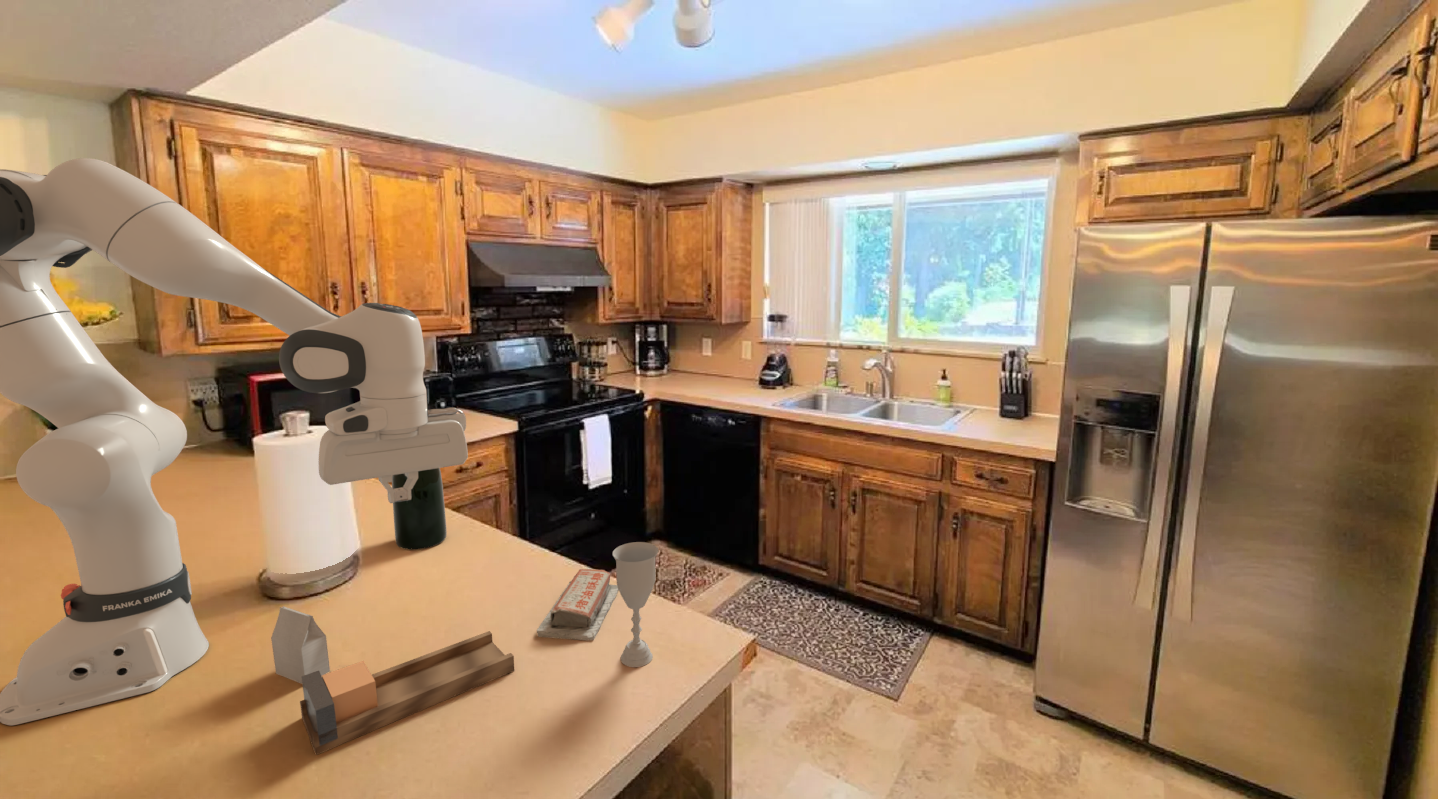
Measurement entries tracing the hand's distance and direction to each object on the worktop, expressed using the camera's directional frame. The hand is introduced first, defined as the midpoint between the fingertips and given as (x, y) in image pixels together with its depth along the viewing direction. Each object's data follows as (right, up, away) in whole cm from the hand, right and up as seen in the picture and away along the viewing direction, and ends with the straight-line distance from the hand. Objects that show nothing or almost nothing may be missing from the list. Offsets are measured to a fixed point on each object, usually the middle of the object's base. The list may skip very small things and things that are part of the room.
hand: (399, 500), depth 96 cm
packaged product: (+24, -23, +17) cm, 38 cm away
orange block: (0, -28, -11) cm, 30 cm away
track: (+5, -27, -6) cm, 28 cm away
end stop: (-3, -27, -14) cm, 31 cm away
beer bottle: (-18, -17, +45) cm, 51 cm away
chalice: (+36, -26, +3) cm, 44 cm away
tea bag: (-14, -26, -2) cm, 29 cm away
